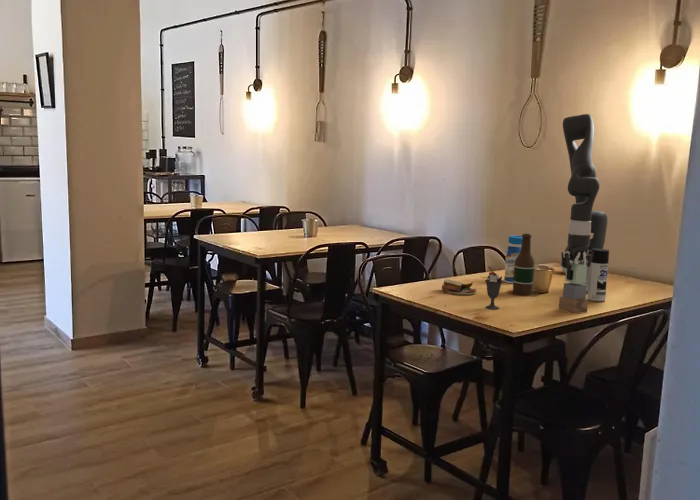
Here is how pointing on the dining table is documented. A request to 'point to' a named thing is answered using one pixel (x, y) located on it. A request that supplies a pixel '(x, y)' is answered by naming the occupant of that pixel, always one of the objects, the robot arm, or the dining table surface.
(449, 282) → the toy sandwich meal
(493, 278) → the sundae
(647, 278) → the dining table surface
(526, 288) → the beer bottle
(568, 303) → the plinth
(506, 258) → the beverage bottle
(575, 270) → the block
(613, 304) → the dining table surface
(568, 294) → the cube
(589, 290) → the spray can
